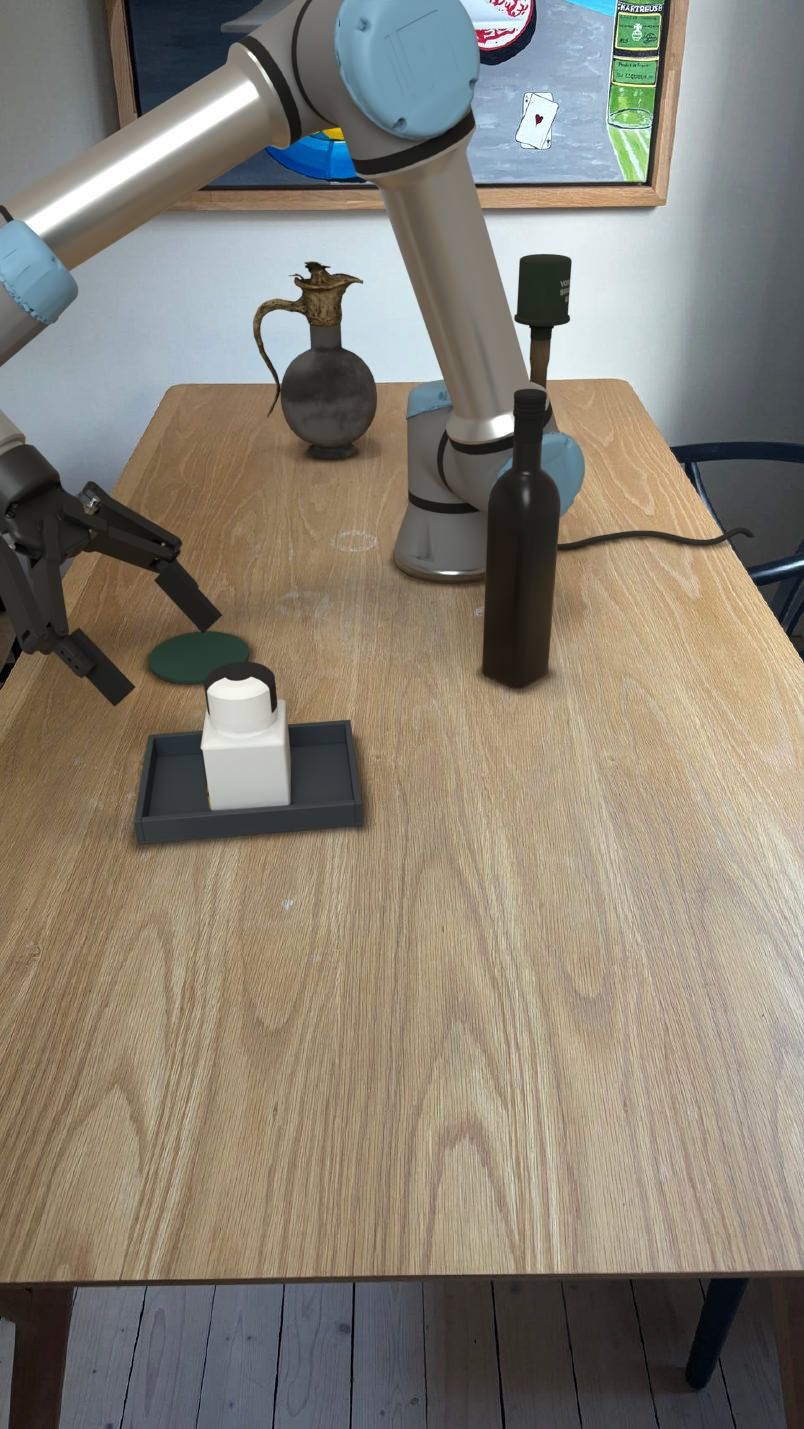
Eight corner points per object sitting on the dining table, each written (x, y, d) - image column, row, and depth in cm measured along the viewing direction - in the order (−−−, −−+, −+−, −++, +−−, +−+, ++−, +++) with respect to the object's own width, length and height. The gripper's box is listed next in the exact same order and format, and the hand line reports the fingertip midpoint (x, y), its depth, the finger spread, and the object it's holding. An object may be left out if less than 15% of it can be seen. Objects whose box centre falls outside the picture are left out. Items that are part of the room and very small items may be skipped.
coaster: (249, 632, 119) (249, 628, 119) (248, 680, 110) (248, 676, 110) (153, 638, 118) (152, 634, 118) (144, 687, 109) (143, 683, 109)
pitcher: (381, 461, 168) (376, 264, 151) (264, 467, 166) (246, 268, 150) (375, 440, 177) (370, 252, 160) (264, 446, 175) (247, 256, 159)
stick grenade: (558, 463, 166) (572, 263, 150) (504, 460, 168) (513, 262, 151) (561, 446, 173) (576, 253, 157) (510, 443, 175) (520, 252, 158)
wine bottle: (511, 655, 114) (526, 380, 97) (552, 673, 110) (574, 392, 94) (477, 673, 110) (486, 392, 94) (517, 693, 107) (534, 405, 91)
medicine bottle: (215, 765, 96) (199, 654, 90) (291, 761, 97) (281, 650, 90) (209, 813, 90) (192, 697, 84) (290, 808, 91) (280, 693, 84)
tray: (351, 740, 100) (350, 719, 99) (362, 825, 89) (361, 803, 88) (151, 755, 98) (148, 734, 97) (138, 844, 87) (133, 821, 86)
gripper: (69, 451, 98) (222, 618, 101) (-137, 551, 78) (60, 753, 82) (106, 401, 93) (265, 577, 96) (-104, 494, 74) (104, 711, 77)
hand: (171, 659), depth 89 cm, fingers open, 13 cm apart
